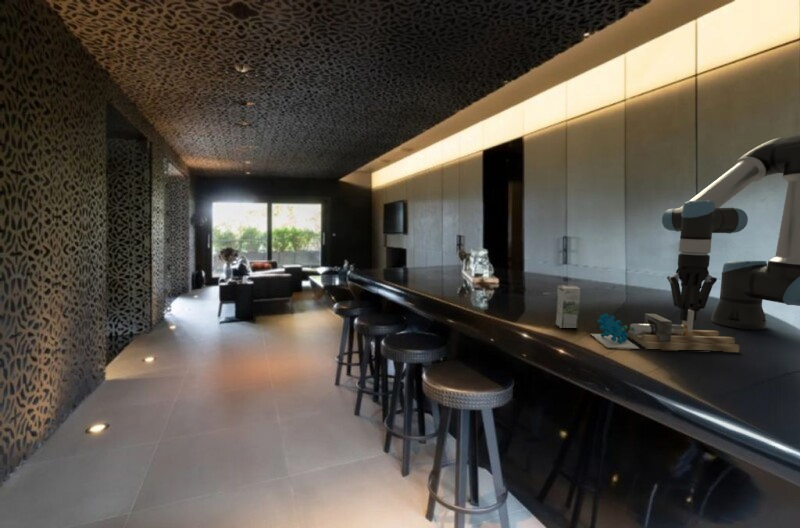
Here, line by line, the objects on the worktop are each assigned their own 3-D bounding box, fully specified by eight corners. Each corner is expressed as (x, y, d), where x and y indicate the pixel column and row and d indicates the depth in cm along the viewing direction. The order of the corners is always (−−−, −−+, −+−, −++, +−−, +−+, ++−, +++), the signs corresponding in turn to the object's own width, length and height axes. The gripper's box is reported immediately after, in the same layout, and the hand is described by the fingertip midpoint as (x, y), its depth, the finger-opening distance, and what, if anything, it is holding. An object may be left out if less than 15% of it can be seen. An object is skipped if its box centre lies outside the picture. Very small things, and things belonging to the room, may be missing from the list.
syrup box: (571, 324, 143) (573, 284, 141) (578, 329, 137) (580, 287, 135) (555, 324, 143) (557, 284, 141) (561, 329, 137) (563, 287, 135)
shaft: (680, 334, 123) (681, 323, 122) (687, 338, 119) (688, 326, 119) (629, 333, 124) (630, 322, 124) (634, 336, 121) (635, 325, 120)
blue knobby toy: (610, 340, 117) (595, 311, 124) (597, 349, 122) (583, 321, 128) (637, 341, 121) (622, 313, 127) (623, 350, 126) (609, 322, 132)
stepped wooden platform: (710, 339, 126) (713, 314, 125) (738, 352, 114) (741, 324, 113) (627, 337, 128) (629, 312, 127) (647, 349, 116) (649, 322, 115)
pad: (619, 336, 129) (619, 334, 129) (639, 349, 116) (639, 347, 116) (590, 335, 130) (590, 333, 130) (606, 348, 117) (607, 346, 117)
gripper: (708, 252, 121) (701, 328, 124) (663, 252, 122) (657, 327, 125) (726, 255, 113) (718, 335, 116) (678, 254, 115) (671, 334, 117)
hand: (686, 330), depth 121 cm, fingers closed
